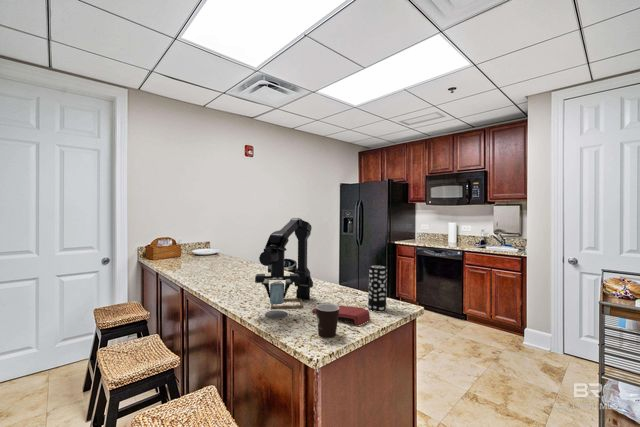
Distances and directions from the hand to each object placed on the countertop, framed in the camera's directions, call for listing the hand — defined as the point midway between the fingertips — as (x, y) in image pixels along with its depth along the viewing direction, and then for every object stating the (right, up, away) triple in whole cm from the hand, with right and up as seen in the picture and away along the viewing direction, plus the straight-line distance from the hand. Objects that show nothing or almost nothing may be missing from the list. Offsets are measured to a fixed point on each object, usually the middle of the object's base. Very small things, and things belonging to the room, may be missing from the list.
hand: (276, 297), depth 129 cm
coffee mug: (+22, -8, -18) cm, 29 cm away
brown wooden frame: (+3, -7, +14) cm, 17 cm away
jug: (0, -2, -1) cm, 2 cm away
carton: (+28, -9, +1) cm, 29 cm away
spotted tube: (+46, -9, +11) cm, 48 cm away
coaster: (0, -7, 0) cm, 7 cm away
